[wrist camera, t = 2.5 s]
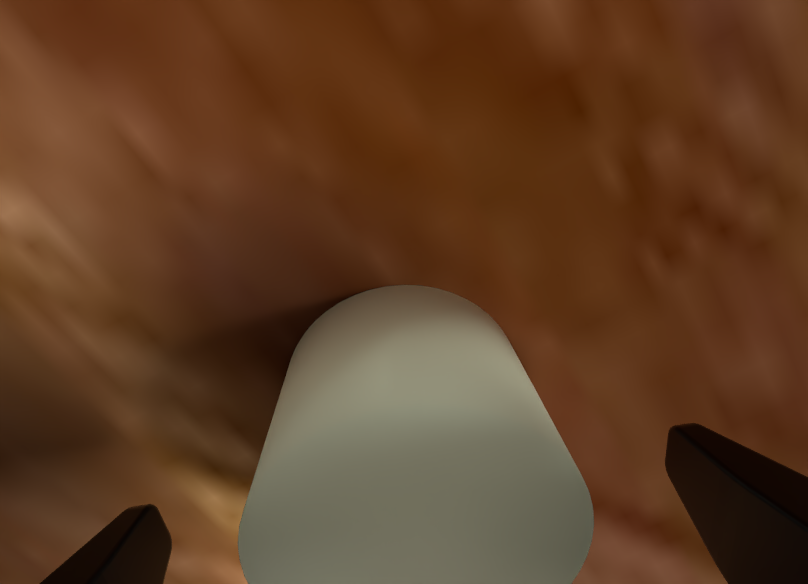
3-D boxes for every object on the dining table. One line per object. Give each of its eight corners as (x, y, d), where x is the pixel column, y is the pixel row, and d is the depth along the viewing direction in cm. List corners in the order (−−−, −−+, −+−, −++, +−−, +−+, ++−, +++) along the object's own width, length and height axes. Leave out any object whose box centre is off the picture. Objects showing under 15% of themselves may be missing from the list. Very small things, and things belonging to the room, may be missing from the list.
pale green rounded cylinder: (512, 266, 9) (599, 376, 6) (521, 460, 12) (589, 632, 8) (260, 304, 9) (187, 439, 6) (314, 491, 12) (286, 678, 8)
